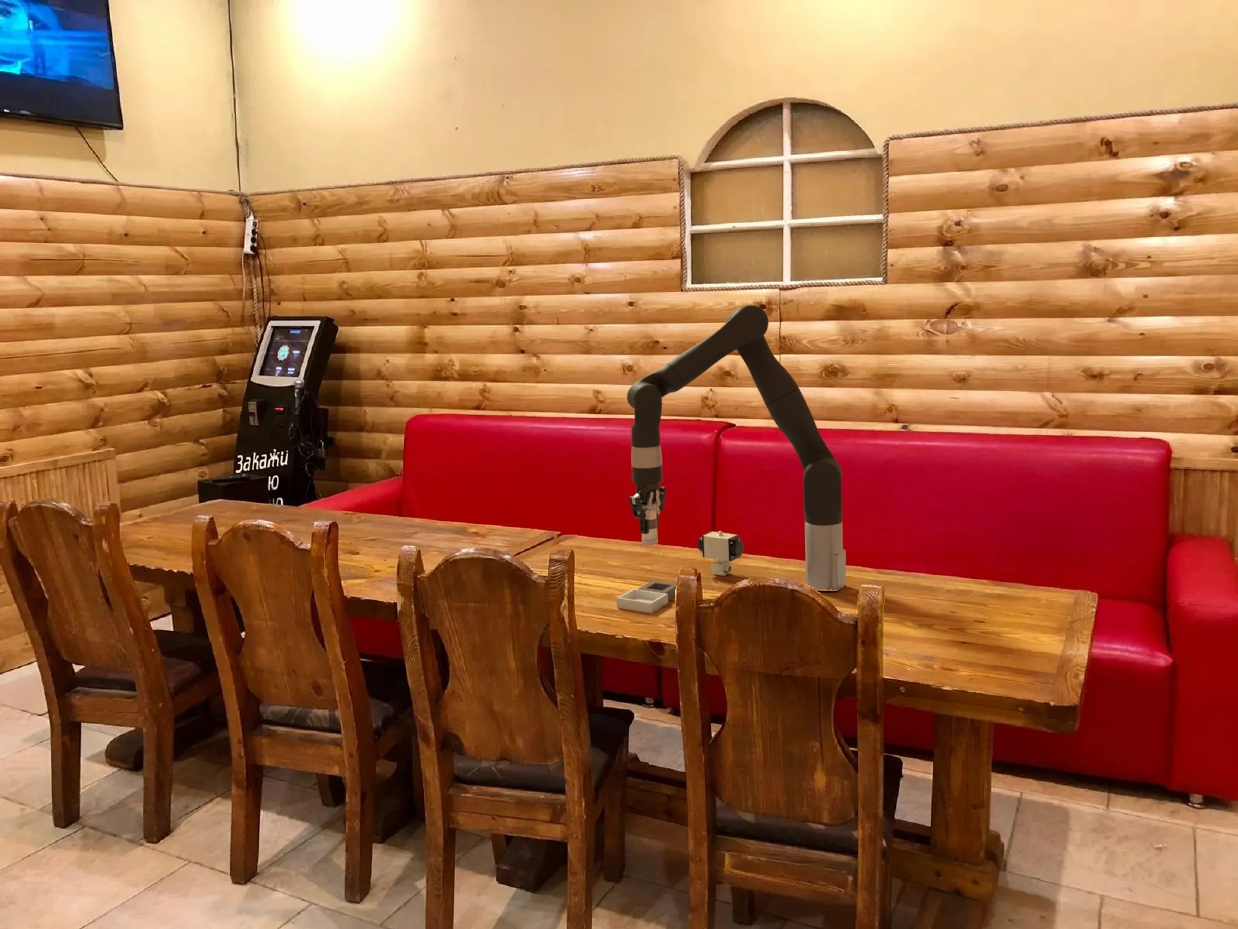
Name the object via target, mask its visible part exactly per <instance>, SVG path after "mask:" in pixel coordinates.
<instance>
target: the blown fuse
mask: <svg viewBox="0 0 1238 929" xmlns="http://www.w3.org/2000/svg"><path fill="white" fill-rule="evenodd" d="M642 506H645V507H646V506H647V505H642ZM656 509H657V504H656V503H652V504H651V509H650V510H649V516H648V519H649V533H648V534H642V533H641V544H642V545H644V546H653V545H658V544H659V537H658V529H657V515H656ZM643 512H644V514H645V510H644V509H643Z"/></svg>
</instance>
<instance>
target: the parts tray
mask: <svg viewBox="0 0 1238 929" xmlns="http://www.w3.org/2000/svg"><path fill="white" fill-rule="evenodd" d="M615 599H616V600H615V601H616V608H618V609H622V610H629V611H635V612H640V613H647V614H653V613H655V612H657V611H658V610H660V609H662V608H663V607H665V606H666V605H668V604H669V601H668V594H666V593H659V592H652V591H646V590H639V589H638V588H632V589H631V590H629V591H627V592H625V593H623V594H621V595H619V596H617V597H616V598H615Z"/></svg>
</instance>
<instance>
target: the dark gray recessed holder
mask: <svg viewBox="0 0 1238 929" xmlns="http://www.w3.org/2000/svg"><path fill="white" fill-rule="evenodd" d="M637 589H639V590H646V591H652V592H659V593H666V594H668V602H669V601H671V600H672V599H674V598H675V589H676V583H669V582H664V581H663V582H662V581H657V580H651V581H650V582H648V583H646V584H644V585H642V586H641V587H639V588H637Z"/></svg>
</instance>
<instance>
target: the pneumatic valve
mask: <svg viewBox="0 0 1238 929" xmlns="http://www.w3.org/2000/svg"><path fill="white" fill-rule="evenodd" d="M697 546H698V550H699V551H700V552H701V554H702V558H703V559H711V560H713V562H712V563H711V566H710V568H711V571H712V575H714V576H719V577H720V576H722V577H725V576H726V575H729V574H731V572H732V570H733V567H732V565H731V562H733V561H735V560H738V559H740V558H741V556H742V555H743V552H744V543H743V541H742V540H741V538H740V535H739V534H733V533H729V532H728V533H726V532H723V531H722V530H719V531H709V532H707V533H704V534H702V535H701V537H699V540H698V544H697Z"/></svg>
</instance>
